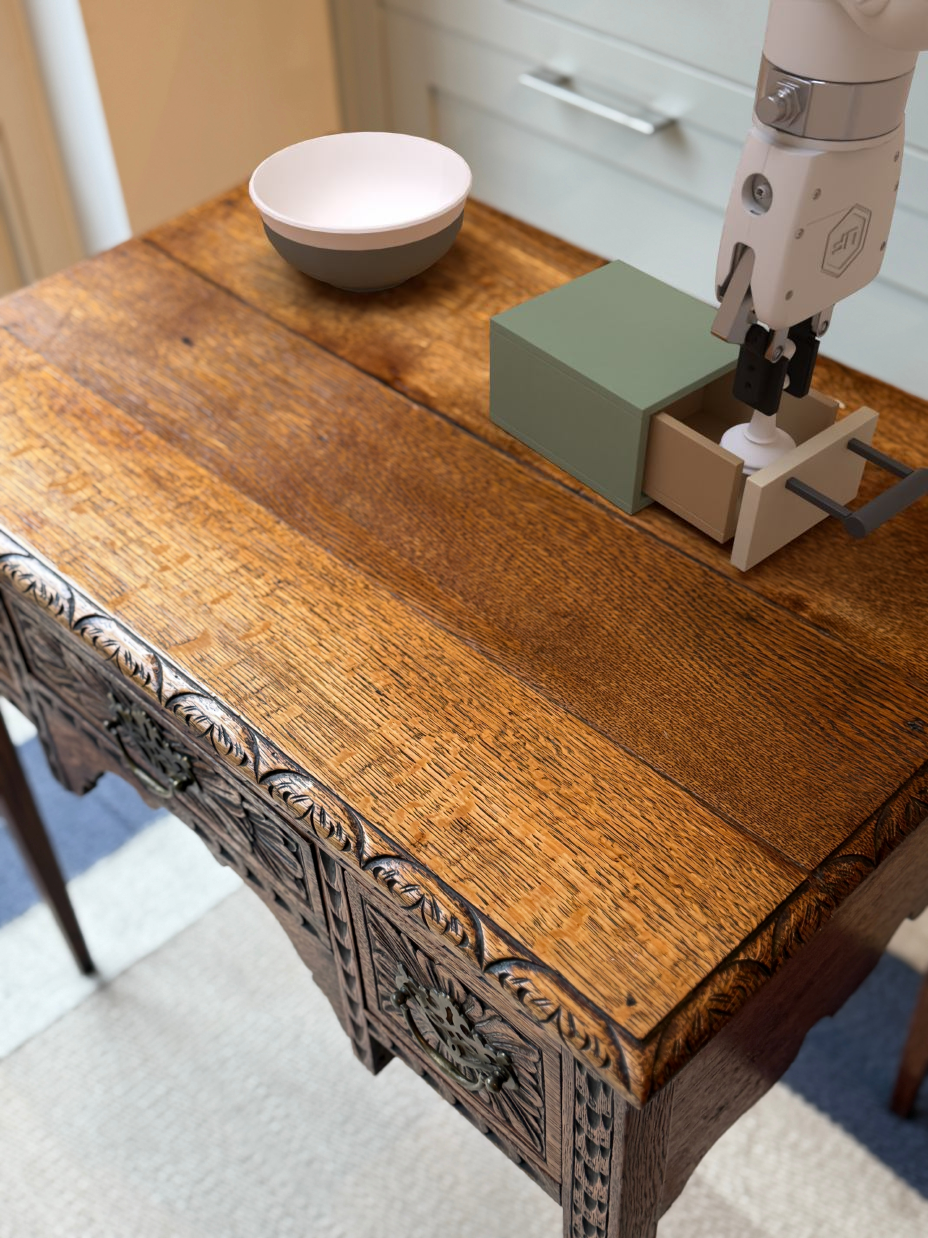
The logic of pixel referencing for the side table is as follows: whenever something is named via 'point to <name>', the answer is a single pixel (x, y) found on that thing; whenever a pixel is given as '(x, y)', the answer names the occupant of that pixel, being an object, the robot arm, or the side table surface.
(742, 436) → the chess piece
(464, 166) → the bowl
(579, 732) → the side table surface
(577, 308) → the cabinet
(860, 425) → the drawer
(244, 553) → the side table surface
